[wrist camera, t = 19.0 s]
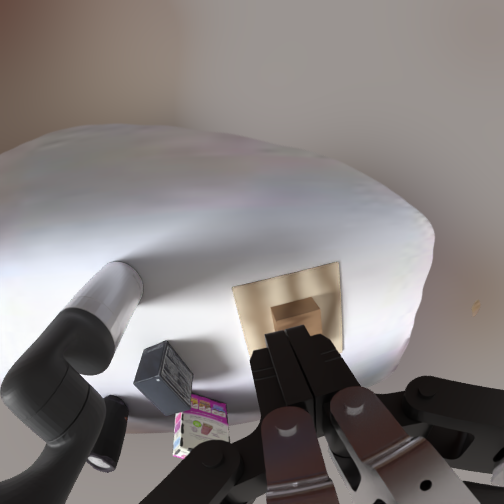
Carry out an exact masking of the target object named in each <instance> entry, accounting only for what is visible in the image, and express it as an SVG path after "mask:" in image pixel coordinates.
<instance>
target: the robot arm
mask: <svg viewBox="0 0 504 504" xmlns="http://www.w3.org/2000/svg"><path fill="white" fill-rule="evenodd" d="M142 294H143V284H142V280H141V278H140V276H139V274H138V273H137V272H136V271H135V270H134V269H133V268H132V267H131V266H129V265H128V264H125V263H123V262H111V263H108V264H106V265H105V266H104V267H103V268H102V269H101V270H100V271H99V272H98V273H97V274H95V275H94V276H93V277H92V278H91V279H90V280H89V281H88V282H87V283H86V284H85V285H84V286H83V287H82V288H81V289H80V291H79V292H78V293H77V294H76V295H75V296H74V297H73V298H72V299H71V301H70V302H69V303H68V304H67V305H66V306H65V307H64V308H63V310H62V311H61V312H60V313H59V314H58V315H57V316H56V318H55V319H54V320H53V321H52V322H51V323H50V325H49V326H48V327H47V328H46V329H45V331H44V332H43V333H42V334H41V335H40V336H39V338H38V339H37V340H36V341H35V342H34V343H33V344H32V345H31V346H30V347H29V348H28V349H27V350H26V352H25V353H24V354H23V355H22V356H21V357H20V358H19V359H18V360H17V361H16V362H15V364H14V365H13V366H12V367H11V369H10V370H9V371H8V373H7V374H6V376H5V378H4V380H3V382H2V385H1V390H0V394H1V398H2V401H3V402H4V404H5V405H6V406H7V407H8V408H9V409H10V410H11V411H12V412H13V413H14V414H15V415H16V416H17V417H18V418H19V419H20V420H21V421H22V422H23V423H24V424H25V425H26V426H28V427H29V428H30V429H31V430H32V431H33V432H34V433H36V434H37V435H38V436H39V437H40V438H42V439H43V440H44V441H45V442H46V446H45V448H44V450H43V452H42V453H41V455H40V456H39V457H38V459H37V460H36V461H35V462H34V464H33V465H32V466H31V467H29V468H28V469H27V470H25V471H24V472H22V473H21V474H19V475H17V476H15V477H13V478H10V479H8V480H5V481H2V482H0V504H65V502H66V500H67V498H68V496H69V494H70V492H71V490H72V488H73V486H74V483H75V482H76V480H77V478H78V476H79V474H80V472H81V470H82V468H83V466H84V464H85V462H86V460H87V458H88V456H89V455H90V453H91V451H92V449H93V447H94V445H95V443H96V441H97V439H98V436H99V434H100V432H101V429H102V427H103V424H104V420H105V416H106V405H105V401H104V399H103V398H102V397H101V395H100V394H99V393H98V392H97V391H96V390H95V389H94V388H93V387H92V386H91V385H90V384H89V383H88V382H87V381H86V380H85V379H84V378H83V377H82V376H81V375H80V374H83V375H97V374H100V373H102V372H103V371H105V370H106V369H107V368H108V366H109V364H110V363H111V360H112V358H113V356H114V354H115V351H116V349H117V347H118V345H119V343H120V340H121V338H122V336H123V334H124V332H125V330H126V327H127V325H128V323H129V321H130V319H131V317H132V315H133V313H134V311H135V309H136V307H137V305H138V303H139V301H140V299H141V297H142ZM264 337H265V342H266V348H262V349H258V350H253V353H252V356H251V358H250V365H251V370H252V375H253V379H254V384H255V389H256V393H257V398H258V403H259V407H260V412H261V420H260V423H259V425H258V427H257V428H256V430H254V431H253V433H251V434H250V435H248V436H247V437H245V438H243V439H241V440H238V441H236V442H234V443H232V444H231V443H229V442H227V441H224V440H208V441H205V442H202V443H200V444H198V445H197V446H196V447H194V448H193V449H192V450H191V452H190V453H189V454H188V455H187V456H186V457H185V458H184V459H183V460H182V461H181V462H180V463H179V464H178V466H176V468H175V469H174V470H173V471H172V472H171V473H170V474H169V475H168V476H167V477H166V478H165V479H164V480H163V481H162V482H161V483H160V484H159V485H158V486H157V487H156V488H155V489H154V490H153V491H151V492H150V493H149V494H148V495H147V497H145V498H144V499H143V500H142V501H141V502H140V503H139V504H252V503H253V502H254V501H255V499H256V498H257V497H259V496H261V495H263V494H265V493H266V502H267V504H339V500H338V497H337V493H336V490H335V487H334V484H333V482H332V480H331V479H330V478H329V476H328V473H327V470H326V467H325V463H324V459H323V456H322V452H321V448H320V445H319V442H318V438H319V437H322V436H325V438H326V440H327V442H328V452H329V455H330V457H331V459H332V461H333V463H334V465H335V466H336V468H337V470H338V472H339V474H340V476H341V477H342V479H343V481H344V483H345V485H346V487H347V489H348V490H349V492H350V495H351V498H352V503H353V504H504V390H500V389H494V388H487V387H482V386H476V385H471V384H466V383H461V382H456V381H451V380H446V379H442V378H437V377H433V376H421V377H418V378H415V379H414V380H412V381H411V382H410V383H409V384H408V385H407V387H406V389H405V391H401V392H396V393H389V394H375V393H374V392H373V391H371V390H369V389H368V388H365V387H361V386H360V384H359V383H358V381H357V380H356V378H355V377H354V375H353V373H352V372H351V370H350V369H349V367H348V366H347V364H346V363H345V361H344V360H343V358H341V355H340V353H339V352H338V350H336V347H335V346H334V344H333V343H332V341H331V340H330V339H329V338H327V337H325V336H324V335H322V334H316V335H313V336H310V334H309V332H308V331H307V329H306V327H305V326H304V325H299V326H296V327H292V328H288V329H285V330H280V331H276V332H272V333H267V334H264ZM451 467H452V468H457V469H463V470H468V471H474V472H482V473H489V474H493V476H492V478H491V484H492V485H486V484H479V483H474V482H469V481H462V480H461V479H460V478H459V477H458V476H457V475H456V473H455V472H454V471H453V470H452V468H451ZM498 485H499V486H498ZM500 486H501V487H500Z"/></svg>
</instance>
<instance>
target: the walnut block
mask: <svg viewBox="0 0 504 504" xmlns="http://www.w3.org/2000/svg"><path fill="white" fill-rule="evenodd" d="M270 308H271V313H272V319H273V324H274V329H275V332H276V331H280V330H285V329H288V328H292V327H296V326H299V325H304V326H305V327H306V329H307V331H308V332H309V334H310V336H313V335H316V334H322V321H321V309H320V308H319V306H318V305H317V304H316V302H315V301H314V300H313V298H312V297H308V298H304V299H301V300H297V301H293V302H289V303H285V304H281V305H277V306H273V307H270Z"/></svg>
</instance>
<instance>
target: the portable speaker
mask: <svg viewBox="0 0 504 504" xmlns="http://www.w3.org/2000/svg"><path fill="white" fill-rule="evenodd" d="M103 399H104V401H105V405H106V416H105V420H104V424H103V427H102V429H101V432H100V434H99V436H98V439H97V441H96V443H95V445H94V447H93V449H92V451H91V453H90V455H89V456H88V458H87V460H86V462H87V463H88V464H90V465H91V466H92V467H93V468H94V469H96V470H99V471H102V472H107V473H108V472H111V471H114V470H115V468H116V466H117V462H118V460H119V456H120V453H121V449H122V444H123V441H124V436H125V432H126V427H127V420H128V413H129V412H128V409H127V407H126V406H125V404H124V402H123V401H122V400H121V399H119V398H118V397H115V396H111V395H109V396H108V397H106V398H103Z"/></svg>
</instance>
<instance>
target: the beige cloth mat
mask: <svg viewBox="0 0 504 504" xmlns="http://www.w3.org/2000/svg"><path fill="white" fill-rule="evenodd" d="M232 290H233V294H234V298H235V302H236V306H237V310H238V314H239V318H240V322H241V325H242V329H243V333H244V337H245V341H246V344H247V348H248V352H249V355H250V358H251V356H252V353H253V350H258V349H262V348H266V342H265V337H264V334H267V333H272V332H275V329H274V324H273V319H272V313H271V308H270V307H273V306H277V305H281V304H285V303H289V302H293V301H297V300H301V299H304V298H308V297H312V298H313V300H314V301H315V302H316V304H317V305H318V306H319V308H320V309H321V321H322V335H324V336H325V337H327V338H329V339H330V340H331V341H332V343H333V344H334V346H335V347H336V350H338V352H339V353H342V313H341V291H340V275H339V263H338V262H334V263H330V264H326V265H322V266H318V267H314V268H310V269H306V270H302V271H298V272H294V273H290V274H286V275H282V276H278V277H274V278H270V279H265V280H261V281H257V282H253V283H248V284H244V285H240V286H235V287H232Z"/></svg>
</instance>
